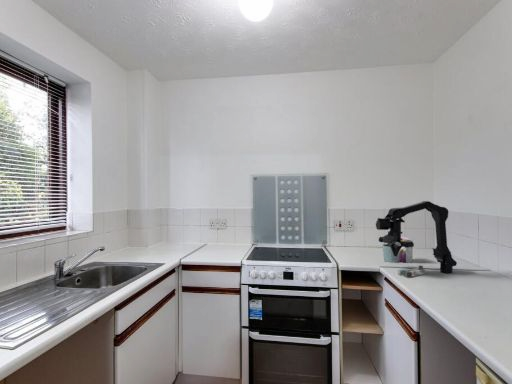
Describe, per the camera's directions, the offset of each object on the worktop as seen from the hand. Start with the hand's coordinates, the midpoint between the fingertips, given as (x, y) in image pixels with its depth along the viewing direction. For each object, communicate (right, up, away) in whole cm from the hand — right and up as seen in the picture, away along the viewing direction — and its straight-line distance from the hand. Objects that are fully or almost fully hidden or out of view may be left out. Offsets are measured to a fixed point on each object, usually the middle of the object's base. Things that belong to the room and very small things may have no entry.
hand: (395, 256), depth 147 cm
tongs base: (+7, -11, -2) cm, 13 cm away
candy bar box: (+20, -11, +26) cm, 35 cm away
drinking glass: (+10, -11, +23) cm, 27 cm away
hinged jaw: (+6, -9, -4) cm, 11 cm away
